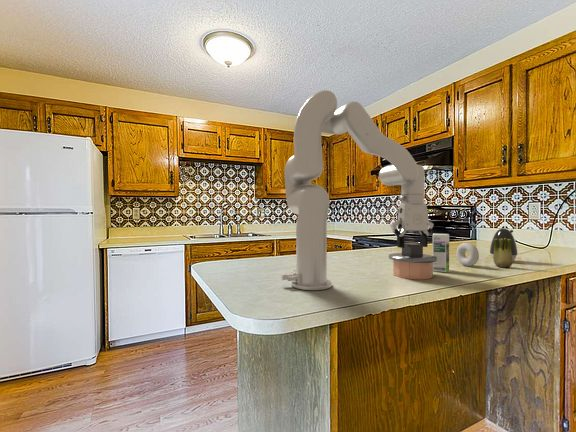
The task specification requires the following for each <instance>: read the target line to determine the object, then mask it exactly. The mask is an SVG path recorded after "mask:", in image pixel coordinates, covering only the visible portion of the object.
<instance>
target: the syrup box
mask: <svg viewBox="0 0 576 432" xmlns="http://www.w3.org/2000/svg"><path fill="white" fill-rule="evenodd" d="M432 256H435V257H437V261H436V262H433V272H438V273H439V272H440V273H448V274H449V273H450V234H449V233H432Z"/></svg>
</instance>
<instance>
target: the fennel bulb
mask: <svg viewBox="0 0 576 432" xmlns="http://www.w3.org/2000/svg"><path fill="white" fill-rule="evenodd" d="M511 242H512V240H510V239H508V240H507V239H506V238H504V244H503V239H499V248H498V240H497V239H494V254H493V257H494V259H493V263H494V265H495V267H499V268H503V269H505V268H506V269H508V268H510V267H511V266H512V265H513V261H514V260H513V258H512V252H511ZM502 247H503V248H502Z"/></svg>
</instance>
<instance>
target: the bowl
mask: <svg viewBox="0 0 576 432" xmlns="http://www.w3.org/2000/svg"><path fill="white" fill-rule="evenodd" d="M392 273H393V276H394V277H397V278H401V279H408V280H418V281H419V280H421V281H422V280H429V279H432V278H433V275H434V271H433V262H431V263H412V262H402V261H395V260H392Z"/></svg>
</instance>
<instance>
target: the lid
mask: <svg viewBox="0 0 576 432" xmlns="http://www.w3.org/2000/svg"><path fill="white" fill-rule="evenodd" d="M388 259H389V260H392V261H393V260H395V261H402V262H412V263H431V262H436V261H437V257H435V256H433V254H431V255H430V254H425V253H424V247H423V244H420V243H418V242H417V243H416V242H404V248H401V252H394V253H390V254H388Z"/></svg>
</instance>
